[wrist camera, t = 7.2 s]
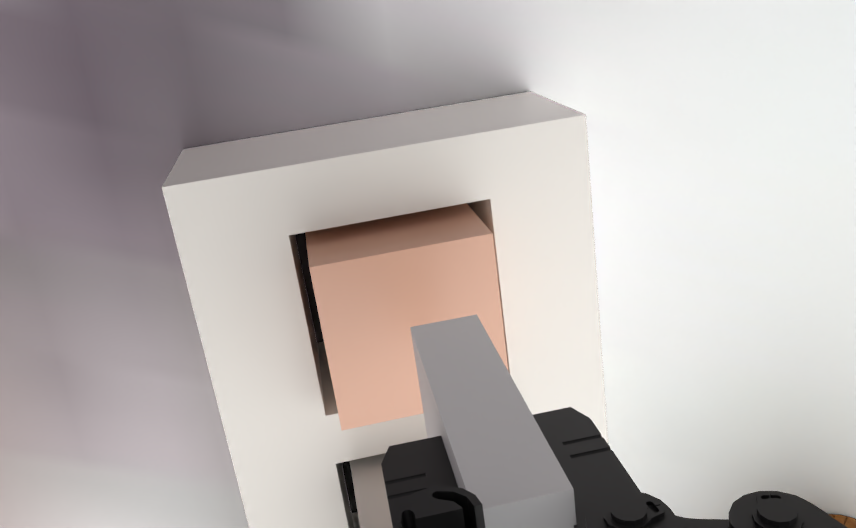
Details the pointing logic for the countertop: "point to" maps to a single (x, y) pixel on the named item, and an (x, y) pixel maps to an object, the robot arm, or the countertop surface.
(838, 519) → the disposable coffee cup
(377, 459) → the key grey
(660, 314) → the countertop surface
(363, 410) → the key terracotta
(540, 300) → the keypad base
